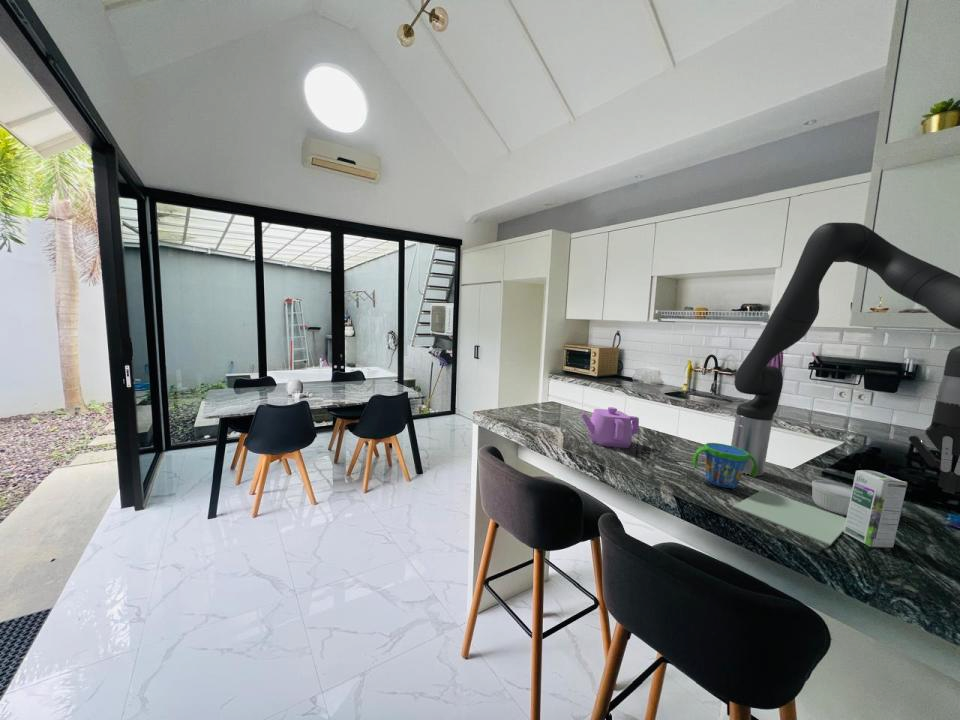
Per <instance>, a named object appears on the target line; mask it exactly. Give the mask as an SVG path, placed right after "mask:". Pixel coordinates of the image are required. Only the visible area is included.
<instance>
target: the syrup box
mask: <svg viewBox="0 0 960 720" xmlns="http://www.w3.org/2000/svg"><path fill="white" fill-rule="evenodd" d="M854 474H855V475H854V478H853V484H852V487H853V488H852V493H851V498H850V503H849V508H848V513H847V516H846V517H845V518H846V522H845V526H844V531H843V532H842V533H843V534H845V535H848V536H850V538H853V539H855V540H857V541H859V542H861V543H862V544H865V546H868V547H869V548H894V545H895V539H896V535H897V531H898V526H899V522H900V518H901V515H902V509H903V504H904V499H905V495H906V491H907V487H908V482H907V481H903V480H900V479H897V478H895V477H892V476H889V475H887V474H884V473H882V472H880V471H879V472H878V471H875V470H870V469H869V470H868V469H866V470H865V469H864V470H863V469H861V470H855V473H854Z"/></svg>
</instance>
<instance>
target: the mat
mask: <svg viewBox="0 0 960 720" xmlns="http://www.w3.org/2000/svg"><path fill="white" fill-rule="evenodd" d="M732 508H733V509H736V510H738V511H740V512H743V513H745V514H748V515H751V516H753V517H756V518H759V519H760V520H764V521H766V522H768V523H771V524H773V525H776V526H778V527H781V528H784V529H787V530H789V531H791V532H794V533H797V534H800V535H802V536H804V537H806V538H810V539H812V540H815V541H817V542H819V543H822V544H824V545H827V546H830V547H831V546H832V545H833V544H834V543H835V541H836V540H837V539H838V538H839V537H840V536H841V535H842V533H844V532H843V531H844V526H845V522H846V518H847V517H844V516H841V515H837V514H836V513H834V512H831V511H828V510H827V511H826V510H825V509H824V510H823V509H821V508H818V507H815V506H811V505H809V504H806V503H802V502H800V501H797V500H794V499H792V498H788V497H786V496H783V495H779V494H777V493H773V492H770V491H768V490H765V489H761V490H760V491H758V492H756V493H754V494H752V495H749V496H748V497H746V498H745V499H743V500H741V501H739V502H737V503H735V504H733V505H732Z"/></svg>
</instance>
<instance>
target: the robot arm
mask: <svg viewBox="0 0 960 720" xmlns="http://www.w3.org/2000/svg"><path fill="white" fill-rule="evenodd" d="M847 262H848V263H852V264H854V265H858V266H861V267H864V268H867V269H869V270H871V271H872V272H874V273H875V274H876V275H878V277H880V278H881V280H882V281H883V282H884V283H885V284H886V285H887V287H889V288H890V289H891V290H893V292H895V293H897V294H899V295H900V296H902V297H905V298H907V299H908V300H910V301H912V302H914V303H915V304H918V305H920V306H922V307H925V308H926V309H927V310H928V311H929V312H930V313H932V315H934V316H936V317H937V318H938V319H939V320H941V321H942V322H943V323H945V324H947V325H949V326H951V327H953V328H955V329H957V330H960V277H959V276H958V275H956V274H954V273H952V272H950V271H947V270H945V269H943V268H941V267H938V266H936V265H934V264H932V263H929V262H927V261H925V260H922V259H920V258H918V257H916V256H914V255H912V254H910V253H908V252H906V251H904V250H902V249H901V248H900V247H898V246H896V245H894V244H892V243H891V242H889V241H888V240H886V239H885V238H884V237H882V236H881V235H879V234H878V233H876V232H875V231H874V230H872V229H871V228H869V227H868V226H867V225H865V224H863V223H862V224H861V223H857V222H828V223H823V224H822V225H820V226H819V227H817V228H816V229H815V230H814V231H813V232H812V234H811V235H810V236H809V238H808V240H807V241H806V244H805V246H804V248H803V250H802V252H801V255H800V258H799V260H798V263H797V265H796V268H795V269H794V272H793V274H792V276H791V278H790V280H789V282H788V284H787V286H786V288H785V290H784V293H783V294H782V296H781V297H780V300H779V301H778V302H777V305H776V306H775V308H774V310H773V311H772V313H771V315H770V317H769V319H768V321H767V323H766V325H765V326H764V329H763V330H762V332H761V334H760V336H759V337H758V339H757V341H756V342H755V344H754V345H753V347H752V349H751V350H750V351H749V353H748V354H747V356H746V357H745V359H744V360H743V361H742V363H741V365H739V368H738V369H737V371H736V373H735V376H734V387H735V389H736V390H737V392H739V393H741V394H746V395H754V397H753V398H752V399H751V400H749V401H747V402H743V403H740V404H738V406H737V407H736V412H735V419H734V426H733V432H732V438H731V444H730V446H733V447H737V448H740V449H742V450H745V451H746V452H748V453H749V455H751V456H752V457H753V458H754V459H755V460H756V462H757V475H756V476H755V477H761V475H762V476H763V475H764V472H765V466H766V460H767V454H768V447H769V442H770V437H771V433H772V432H771V430H772V424H773V419H774V416H775V413H777V410H778V406H779V403H780V399H781V393H782V390H783V385H784V384H783V383H784V377H783V376H784V375H783V373H782V371H781V370H780V369H779V367H776V366H773V365H769V364H770V363H771V361H772V360H773V359H775V357H777V356H778V355H779V354H781V353H782V352H784V351H786V350H787V349H789V348H791V347H792V346H793V345H795V344H796V343H798V342H799V341H800V340H802V339H803V338H804V337H805V336H806V334H807V333H808V332H809V330H810V328H811V327H812V326H813V324H814V323H815V320H816V319H817V317H818V315H819V312H820V286H821V283H822V282H823V279H824V277H826V276H825V275H826V274H827V272H828V270H829V269H830V268H831V266H832V265H833V263H847ZM944 365H945V366H944V369H943V376H942V377H941V381H940V383H939V386H938V389H937V392H936V395H935V398H936V399H935V403H934V409H933V413H932V418H931V422H930V425H929V426H928V427H927V428H926V429H925V432H922V433H919V434H912V435H910V436H909V438H908V440H909V442H910V444H912V446H913V447H914V448H915V449H916V451H917V452H918V454H920V455H921V457H922V458H923V460H924V461H925V462H926V463H927V464H928V465H929V466H932V467H935V468H937V469H938V470H939V477H938V482H937V485H938V487H939V488H942V492H945V493H950V494H952V495H953V494H955V492H957V493H959V492H960V345H959V346H955V347H952V348H951V349H950V350H949V351H948V354H947V356H946V361H945V364H944ZM928 439H929V440H930V441H931V443H932V444H933V445H934V447H935V448H936V449H937V450H938V451H939V452H940V453H941V457H940V459H938V458H937V457H936V456H935V455H934V454H933V453H932V452H931V450H930V449H929V447H927V446H926V445H927V444H929V442H928ZM953 455H954V456H958V460H957V462H956V465H955V468H954V471H952V463H953ZM753 464H754V463H753V460H752V459H751V458H749V459H748V461H747V462H746V464H745V466H744V469H743V471H742V474H743V473H745V474H744V475H747V474H749V475H748V476H751V475H750V473H751V471H752V467H753Z"/></svg>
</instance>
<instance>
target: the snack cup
mask: <svg viewBox="0 0 960 720" xmlns="http://www.w3.org/2000/svg"><path fill="white" fill-rule="evenodd" d="M702 452H704V453H705V480H706V481H707V482H709V483H710V484H712V485H713V486H717V487H719V488H725V489H733V490H734V489H735V488H737V486H738V485H739V483H740V480H741V478H742V475H743V473H742V471H743V469H744V466H745V464H746V462H747V461H748V459H749V458H751V459H752V460H753V463H754V464H753V467H752V471H751V473H750V475H749V476H750V477H751V478H756V477H757V476H756V475H757V462H756V460H755V459H754V458H753V457H752V456H751V455H749V453H748V452H746V451H745V450H742V449H740V448H737V447H733V446H731V445H729V444H725V443H719V442H718V443H717V442H706V443H705V444H704V445H703V446H700V447H699V448H697V449H696V451H695V452H694V454H693V456H692V465H693V468H694V469H697V463H698V459H699V454H700V453H702Z"/></svg>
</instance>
